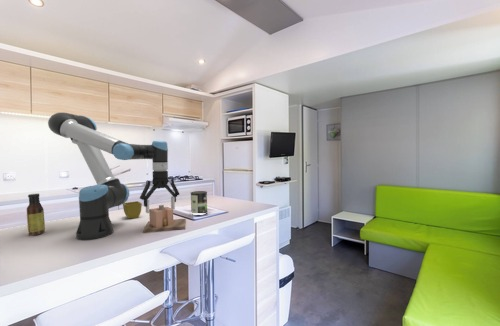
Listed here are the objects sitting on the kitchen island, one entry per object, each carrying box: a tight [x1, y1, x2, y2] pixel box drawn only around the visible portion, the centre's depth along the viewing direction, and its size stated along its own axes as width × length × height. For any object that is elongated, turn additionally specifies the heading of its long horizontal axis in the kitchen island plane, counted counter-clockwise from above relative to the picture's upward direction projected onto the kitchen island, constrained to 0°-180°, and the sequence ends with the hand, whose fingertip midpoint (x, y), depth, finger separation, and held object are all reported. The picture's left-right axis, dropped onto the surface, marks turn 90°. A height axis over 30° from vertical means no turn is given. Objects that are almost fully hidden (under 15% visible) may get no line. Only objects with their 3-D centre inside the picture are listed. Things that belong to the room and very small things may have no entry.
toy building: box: [148, 206, 174, 228], centre depth 125 cm, size 9×9×8 cm
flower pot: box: [122, 201, 143, 220], centre depth 145 cm, size 9×9×9 cm
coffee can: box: [190, 190, 208, 213], centre depth 151 cm, size 10×10×14 cm
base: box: [142, 204, 187, 234], centre depth 125 cm, size 20×15×12 cm
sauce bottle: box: [26, 193, 46, 236], centre depth 116 cm, size 7×6×20 cm
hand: (160, 210), depth 124 cm, fingers open, 13 cm apart
